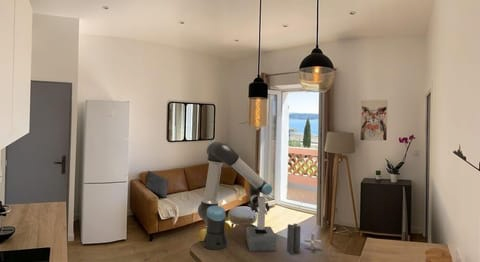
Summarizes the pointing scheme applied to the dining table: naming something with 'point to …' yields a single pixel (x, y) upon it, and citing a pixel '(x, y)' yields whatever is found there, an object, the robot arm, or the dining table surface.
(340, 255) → the dining table surface
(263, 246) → the bore block
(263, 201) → the square bit
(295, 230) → the cross bit
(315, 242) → the pipe connector
